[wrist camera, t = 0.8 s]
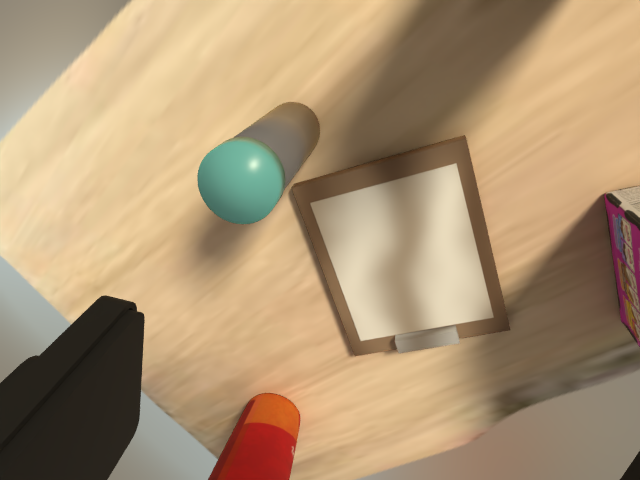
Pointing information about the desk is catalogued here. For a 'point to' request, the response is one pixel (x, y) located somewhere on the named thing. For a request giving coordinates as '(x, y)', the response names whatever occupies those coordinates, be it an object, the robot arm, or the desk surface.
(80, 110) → the desk surface
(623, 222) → the candy bar box
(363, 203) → the clipboard
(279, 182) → the marker
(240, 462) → the paper cup
